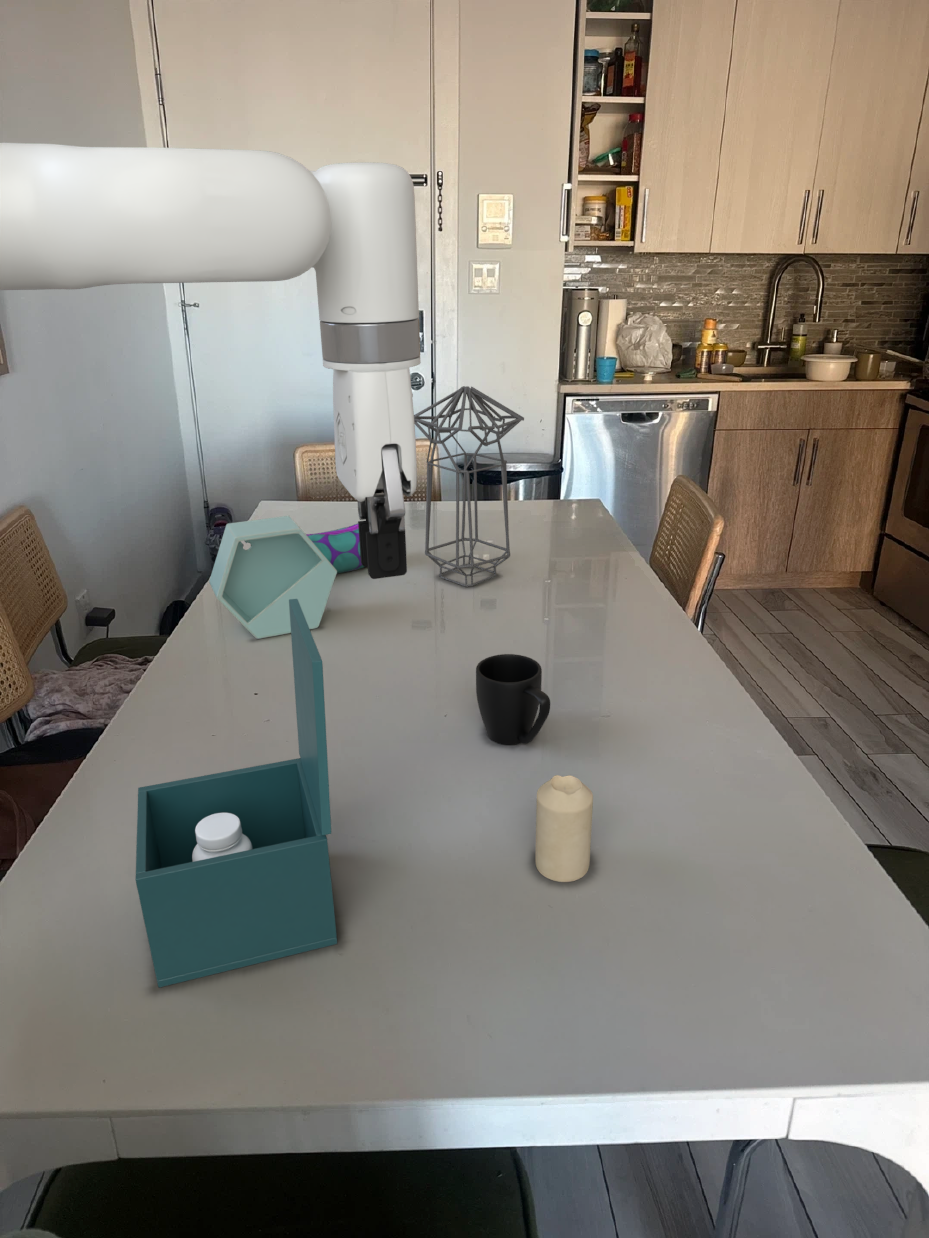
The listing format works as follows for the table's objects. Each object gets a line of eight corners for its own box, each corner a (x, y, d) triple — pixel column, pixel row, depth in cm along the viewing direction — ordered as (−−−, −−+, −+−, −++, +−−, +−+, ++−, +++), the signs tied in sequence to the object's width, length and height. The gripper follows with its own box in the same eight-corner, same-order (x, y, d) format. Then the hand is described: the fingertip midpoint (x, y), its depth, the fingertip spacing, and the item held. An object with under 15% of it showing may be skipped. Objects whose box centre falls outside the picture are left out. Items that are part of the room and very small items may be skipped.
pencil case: (286, 589, 160) (281, 539, 156) (273, 574, 167) (268, 526, 163) (391, 569, 168) (389, 522, 164) (375, 556, 175) (372, 510, 171)
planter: (278, 661, 143) (192, 573, 132) (268, 642, 149) (185, 558, 138) (357, 594, 144) (278, 502, 133) (344, 578, 151) (267, 490, 139)
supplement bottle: (243, 882, 86) (230, 800, 82) (271, 910, 82) (260, 825, 78) (192, 909, 83) (176, 824, 79) (219, 939, 79) (205, 852, 75)
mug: (514, 772, 104) (515, 703, 100) (464, 728, 114) (463, 663, 110) (570, 753, 108) (573, 685, 104) (517, 711, 117) (518, 648, 114)
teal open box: (158, 988, 75) (135, 879, 70) (157, 886, 87) (138, 787, 82) (337, 943, 79) (327, 839, 75) (313, 852, 91) (303, 756, 86)
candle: (557, 890, 85) (560, 805, 81) (524, 859, 90) (525, 777, 86) (600, 869, 88) (605, 787, 84) (566, 840, 92) (569, 760, 88)
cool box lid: (312, 662, 68) (322, 660, 68) (288, 599, 80) (297, 598, 80) (322, 835, 74) (331, 833, 75) (299, 753, 86) (307, 752, 86)
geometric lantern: (410, 576, 165) (402, 387, 151) (471, 556, 174) (469, 377, 160) (466, 598, 154) (463, 397, 140) (528, 576, 164) (531, 386, 150)
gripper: (306, 337, 73) (324, 546, 80) (342, 360, 59) (359, 611, 66) (393, 333, 75) (403, 537, 82) (448, 354, 61) (454, 598, 68)
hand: (383, 568), depth 74 cm, fingers closed
